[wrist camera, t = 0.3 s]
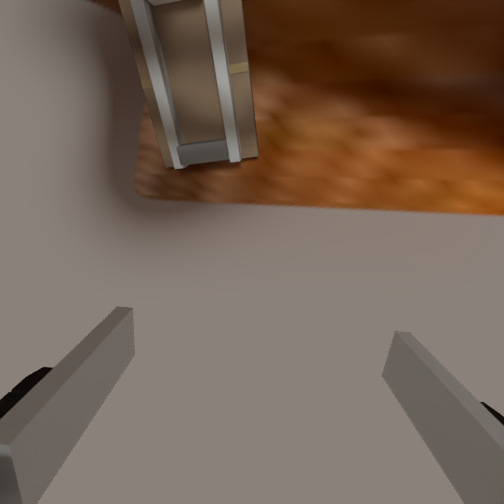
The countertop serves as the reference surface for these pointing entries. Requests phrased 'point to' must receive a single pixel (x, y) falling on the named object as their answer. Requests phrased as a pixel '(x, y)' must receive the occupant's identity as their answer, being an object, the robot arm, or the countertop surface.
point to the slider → (161, 2)
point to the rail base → (195, 78)
